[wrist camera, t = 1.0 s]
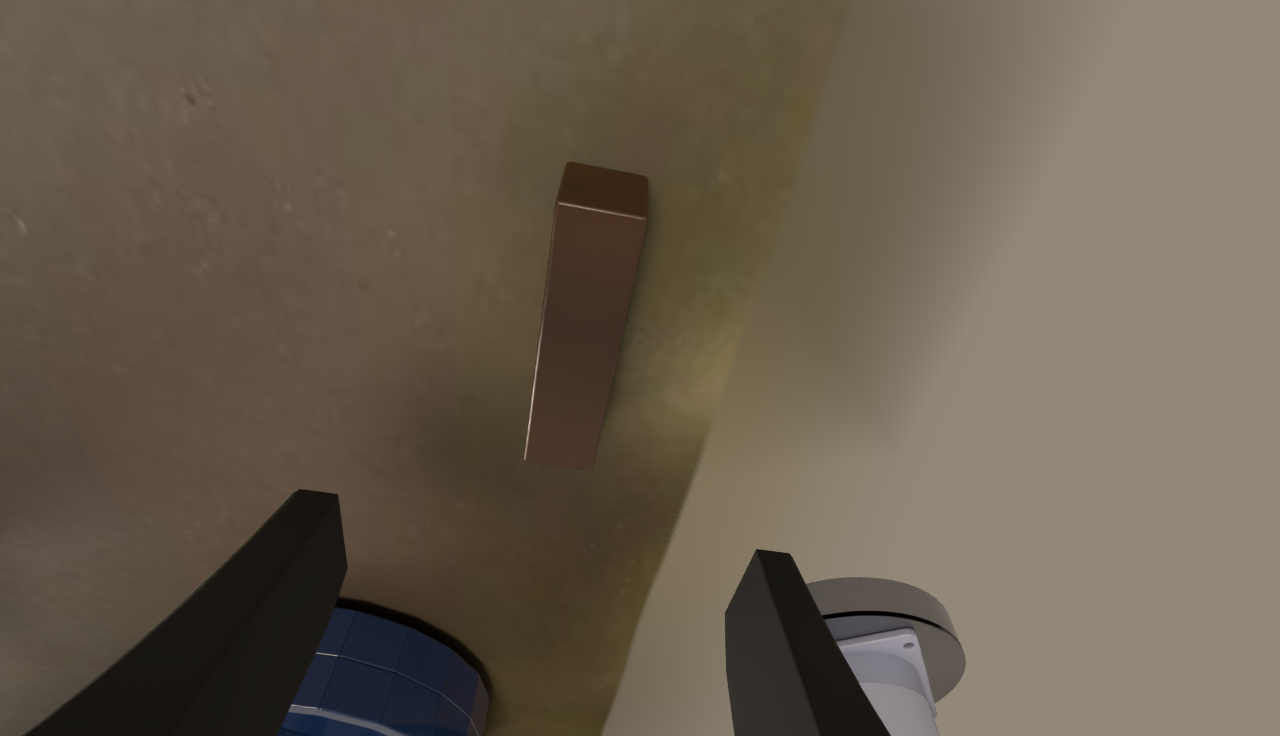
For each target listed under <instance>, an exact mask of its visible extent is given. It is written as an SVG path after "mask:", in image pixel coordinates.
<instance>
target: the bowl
mask: <svg viewBox="0 0 1280 736" xmlns="http://www.w3.org/2000/svg"><path fill="white" fill-rule="evenodd" d="M488 705H489V695H488V693H487V691H486V688H485V686H484V684H483V681H482V679H481V677H480V674H479V673H478V672H477V671H476V670H475V669H473V668H472V667H471V666H470V665H469V664H468V663H467V662H466V661H465V660H464V659H463V658H462V657H460V656H459V655H458V654H457V653H456V652H455V651H454V650H452V649H451V648H449V647H448V646H446V645H444V644H442V643H440V642H438V641H436V640H434V639H432V638H431V637H429V636H427V635H425V634H423V633H421V632H419V631H417V630H415V629H414V628H412V627H408V626H405V625H403V624H400V623H398V622H395V621H392V620H389V619H386V618H383V617H380V616H377V615H374V614H370V613H366V612H362V611H358V610H353V609H347V608H342V607H334V610H333V613H332V616H331V618H330V621H329V624H328V627H327V629H326V632H325V634H324V636H323V638H322V640H321V643H320V645H319V647H318V649H317V651H316V653H315V656H314V658H313V660H312V662H311V664H310V666H309V668H308V671H307V673H306V675H305V677H304V679H303V681H302V683H301V686H300V688H299V690H298V692H297V694H296V696H295V698H294V700H293V703H292V705H291V707H290V709H289V711H288V713H287V715H286V717H285V719H284V722H283V724H282V726H281V728H280V730H279V732H278V734H277V736H483V731H484V726H485V721H486V715H487V710H488Z"/></svg>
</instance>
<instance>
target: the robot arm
mask: <svg viewBox="0 0 1280 736" xmlns="http://www.w3.org/2000/svg"><path fill="white" fill-rule="evenodd" d="M347 568H348V567H347V560H346V552H345V544H344V537H343V529H342V521H341V514H340V506H339V499H338V494H333V493H325V492H318V491H310V490H302V489H299V490H298V491H296V492H294V493H293V494H292V495H291V496H290V497H289V498H288V499H287V500H286V501H285V502H284V504H283V505H282V506H281V507H280V508H279V509H278V510H277V511H276V512H275V513H274V514H273V515H272V516H271V517H270V518H269V519H268V520H267V521H266V522H265V523H264V524H263V525H262V526H261V527H260V528H259V530H258V531H257V532H256V533H255V534H254V535H253V536H252V537H251V538H250V539H249V540H248V541H247V542H246V543H245V544H244V545H243V546H242V547H241V548H240V549H239V550H238V551H237V552H236V553H235V554H234V555H233V556H232V557H231V558H230V559H229V560H228V561H226V562H225V563H224V564H223V565H222V566H221V567H220V568H219V569H218V570H217V571H216V572H215V573H214V574H213V575H212V576H211V577H210V578H209V579H208V580H206V581H205V582H204V583H203V584H202V585H201V586H200V587H199V588H198V589H197V590H196V591H195V592H194V593H193V594H192V595H191V596H190V597H188V598H187V599H186V600H185V601H184V602H183V603H182V604H181V605H180V606H179V607H178V608H177V609H175V610H174V611H173V612H172V613H171V614H170V615H169V616H168V617H166V618H165V619H164V620H163V621H162V622H161V623H160V624H158V625H157V626H156V627H155V628H154V629H153V630H152V631H150V632H149V633H148V634H147V635H146V636H145V637H144V638H142V639H141V640H140V641H139V642H138V643H137V644H136V645H134V646H133V647H132V648H131V649H130V650H129V651H128V652H126V653H125V654H124V655H123V656H122V657H121V658H119V659H118V660H117V661H116V662H115V663H113V664H112V665H111V666H110V667H109V668H107V669H106V670H105V671H104V672H103V673H101V674H100V675H99V676H98V677H96V678H95V679H94V680H93V681H92V682H90V683H89V684H88V685H87V686H85V687H84V688H83V689H82V690H80V691H79V692H78V693H77V694H75V695H74V696H73V697H72V698H70V699H69V700H68V701H66V702H65V703H64V704H63V705H61V706H60V707H59V708H57V709H56V710H55V711H54V712H52V713H51V714H50V715H48V716H47V717H46V718H45V719H43V720H42V721H41V722H39V723H38V724H37V725H35V726H34V727H33V728H31V729H30V730H29V731H27V732H26V733H25V734H23V735H22V736H277V734H278V732H279V730H280V728H281V726H282V724H283V722H284V719H285V717H286V715H287V713H288V711H289V709H290V707H291V705H292V703H293V700H294V698H295V696H296V694H297V692H298V690H299V688H300V686H301V683H302V681H303V679H304V677H305V675H306V673H307V671H308V668H309V666H310V664H311V662H312V660H313V658H314V656H315V653H316V651H317V649H318V647H319V645H320V643H321V640H322V638H323V636H324V634H325V632H326V629H327V627H328V624H329V621H330V618H331V616H332V613H333V610H334V607H335V604H336V601H337V598H338V595H339V592H340V589H341V586H342V583H343V580H344V577H345V574H346V571H347ZM725 640H726V641H725V645H726V673H727V681H728V689H729V696H730V703H731V712H732V720H733V727H734V734H735V736H940V735H939V732H938V730H937V727H936V724H935V721H934V718H936V717H937V711H936V707H935V703H934V699H933V695H932V691H931V688H930V684H929V680H928V676H927V672H926V668H925V665H924V661H923V657H922V653H921V649H920V645H919V642H918V638H917V635H916V632H915V631H914V630H913V629H911V628H902V629H897V630H892V631H886V632H881V633H876V634H871V635H866V636H861V637H855V638H850V639H845V640H840V641H835V639H834V638H833V636H832V634H831V632H830V630H829V628H828V626H827V624H826V623H825V621H824V619H823V617H822V615H821V613H820V611H819V609H818V607H817V605H816V603H815V601H814V599H813V598H812V596H811V594H810V592H809V590H808V588H807V586H806V584H805V582H804V580H803V578H802V576H801V574H800V572H799V570H798V568H797V566H796V564H795V562H794V560H793V558H792V556H791V555H790V554H789V553H782V552H774V551H767V550H759V549H757V550H756V551H755V553H754V555H753V557H752V560H751V561H750V563H749V566H748V567H747V569H746V571H745V573H744V575H743V578H742V580H741V582H740V584H739V586H738V588H737V590H736V592H735V594H734V596H733V598H732V600H731V602H730V604H729V606H728V608H727V610H726V612H725Z"/></svg>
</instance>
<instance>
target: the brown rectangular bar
mask: <svg viewBox="0 0 1280 736" xmlns="http://www.w3.org/2000/svg"><path fill="white" fill-rule="evenodd" d="M647 222H648V180H647V178H646V177H645V176H640V175H635V174H630V173H625V172H620V171H615V170H609V169H604V168H599V167H594V166H589V165H584V164H579V163H573V162H567V164H566V166H565V170H564V174H563V177H562V181H561V185H560V188H559V192H558V196H557V199H556V203H555V211H554V220H553V228H552V236H551V244H550V252H549V260H548V268H547V276H546V284H545V292H544V300H543V308H542V317H541V325H540V333H539V341H538V349H537V357H536V365H535V373H534V381H533V389H532V397H531V406H530V414H529V422H528V430H527V438H526V446H525V454H524V459H525V461H527V462H533V463H540V464H547V465H554V466H561V467H568V468H575V469H582V470H589V471H590V470H592V469H593V468H594V464H595V459H596V454H597V450H598V445H599V441H600V436H601V432H602V427H603V422H604V418H605V413H606V409H607V404H608V400H609V395H610V391H611V386H612V381H613V377H614V372H615V368H616V363H617V359H618V354H619V349H620V345H621V340H622V336H623V331H624V327H625V322H626V318H627V313H628V308H629V304H630V299H631V295H632V290H633V286H634V281H635V276H636V272H637V267H638V263H639V258H640V254H641V249H642V245H643V240H644V235H645V231H646V226H647Z"/></svg>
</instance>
